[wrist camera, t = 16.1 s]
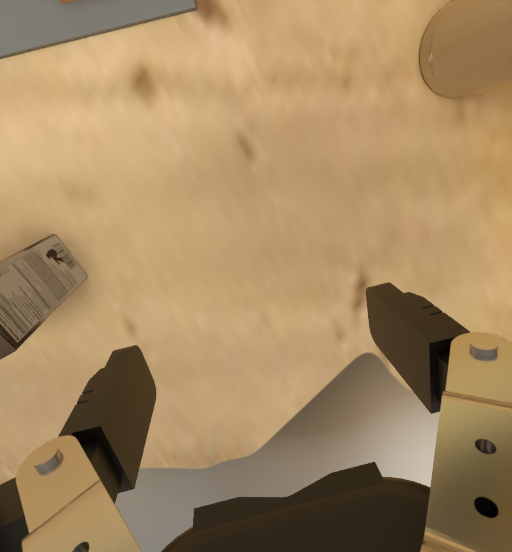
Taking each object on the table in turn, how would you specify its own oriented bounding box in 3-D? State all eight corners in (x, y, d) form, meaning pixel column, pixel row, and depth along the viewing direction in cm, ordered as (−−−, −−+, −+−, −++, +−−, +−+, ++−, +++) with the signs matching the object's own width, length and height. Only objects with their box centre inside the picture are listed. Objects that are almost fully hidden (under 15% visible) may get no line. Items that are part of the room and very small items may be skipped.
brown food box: (27, 310, 42) (-79, 403, 27) (-11, 267, 39) (-152, 343, 24) (90, 277, 41) (18, 353, 26) (55, 231, 38) (-48, 286, 24)
